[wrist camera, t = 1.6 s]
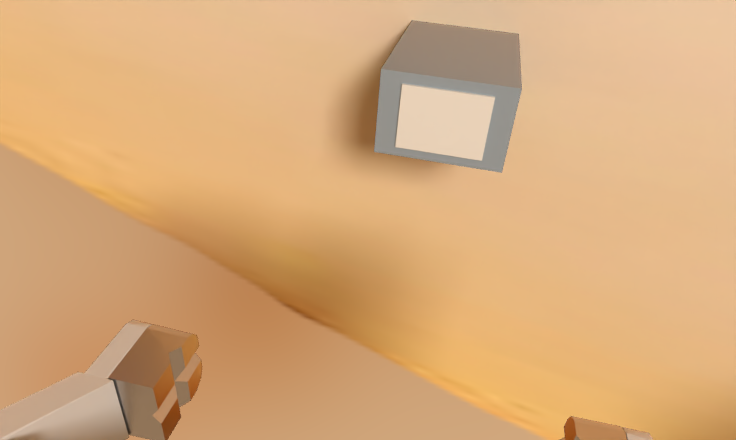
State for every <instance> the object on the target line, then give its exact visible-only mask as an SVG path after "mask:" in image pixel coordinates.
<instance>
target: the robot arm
mask: <svg viewBox="0 0 736 440" xmlns="http://www.w3.org/2000/svg"><path fill="white" fill-rule="evenodd" d="M198 347H199V342H198V337H197V335H194V334H191V333H187V332H183V331H179V330H175V329H171V328H166V327H162V326H158V325H154V324H150V323H146V322H141V321H137V320H131V321H130V322H128V323H126V324H125V325H124V326H123V328H122V329H121V330H120V331H119V332H118V334H117V335H116V336H115V337H114V339H113V340H112V341H111V342H110V343H109V344H108V345H107V347H106V348H105V349H104V350H103V351H102V353H101V354H100V355H99V356H98V357H97V359H96V360H95V361H94V362H93V363H92V365H91V366H90V367H89V368H88V369H87V370H86V372H85V373H80V372H77V373H75V374H73V375H71V376H69V377H67V378H65V379H63V380H61V381H59V382H57V383H55V384H53V385H50V386H48V387H46V388H44V389H42V390H40V391H38V392H36V393H34V394H32V395H30V396H28V397H26V398H24V399H22V400H20V401H18V402H15V403H13V404H11V405H10V406H7V407H5V408H3V409H1V410H0V440H126V439H128V438H129V435H132V436H136V437H141V438H145V439H150V440H168V438H169V436H170V435H171V433H172V431H173V430H174V428H175V426H176V425H177V423H178V421H179V420H180V418H181V414H180V408H179V407H181V406H182V405H184V404H186V403H187V402H189V401H191V399H192V397H193V396H194V394H195V392H196V391H197V388H198V385H199V382H200V379H201V374H202V363H201V359H200V358H199V357H198V355H197V354H196V353H195V352H196V350H197V349H198ZM564 433H565V437H564V438H562V439H560V440H653V438H652V437H651V435H650V434H649V433H646V432H642V431H637V430H633V429H628V428H624V427H620V426H617V425H612V424H607V423H602V422H597V421H592V420H587V419H583V418H578V417H573V416H571V417H570V418H568V419H567V421H566V424H565V426H564Z"/></svg>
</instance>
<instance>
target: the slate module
mask: <svg viewBox="0 0 736 440" xmlns="http://www.w3.org/2000/svg"><path fill="white" fill-rule="evenodd" d="M521 90H522V84H521V65H520V45H519V34H515V33H508V32H500V31H492V30H484V29H476V28H468V27H460V26H452V25H444V24H436V23H428V22H420V21H413V20H412V21H411V23H410V24H409V26H408V27H407V29H406V31H405V32H404V34H403V35H402V37H401V38H400V40H399V42H398V43H397V45H396V46H395V48H394V49H393V51H392V53H391V54H390V56H389V57H388V59H387V60H386V62H385V64H384V65H383V67H382V68H381V76H380V88H379V100H378V112H377V124H376V136H375V148H374V152H378V153H384V154H390V155H396V156H403V157H409V158H415V159H421V160H427V161H433V162H440V163H446V164H452V165H458V166H464V167H470V168H476V169H483V170H489V171H495V172H501V173H502V170H503V166H504V162H505V157H506V153H507V149H508V145H509V140H510V136H511V132H512V128H513V124H514V119H515V115H516V111H517V107H518V102H519V98H520V94H521Z"/></svg>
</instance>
